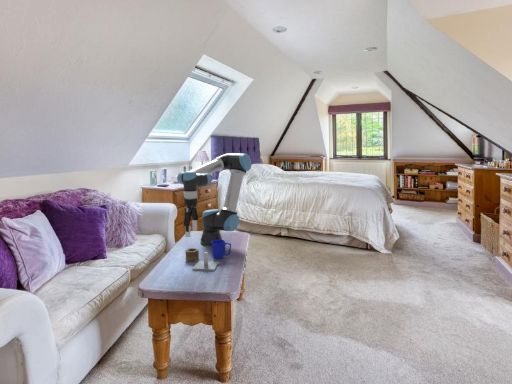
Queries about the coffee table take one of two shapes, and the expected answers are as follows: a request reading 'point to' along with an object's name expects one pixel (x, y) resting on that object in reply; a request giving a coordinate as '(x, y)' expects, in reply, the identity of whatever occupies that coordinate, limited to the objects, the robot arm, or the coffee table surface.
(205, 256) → the square plate with peg
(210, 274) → the coffee table surface
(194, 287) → the coffee table surface
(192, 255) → the ring
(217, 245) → the mug
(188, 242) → the coffee table surface
